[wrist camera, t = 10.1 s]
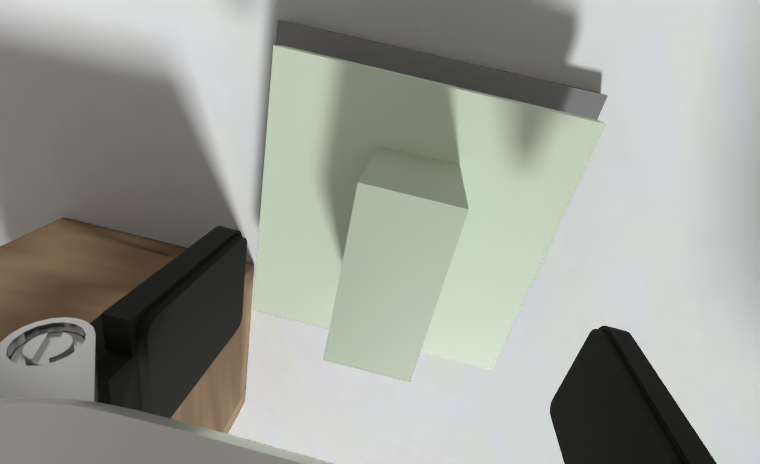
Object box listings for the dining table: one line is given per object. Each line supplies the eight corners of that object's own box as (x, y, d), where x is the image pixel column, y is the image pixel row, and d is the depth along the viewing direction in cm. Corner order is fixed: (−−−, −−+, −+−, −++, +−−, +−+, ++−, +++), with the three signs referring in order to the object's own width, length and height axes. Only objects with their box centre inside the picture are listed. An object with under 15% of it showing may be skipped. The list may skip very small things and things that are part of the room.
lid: (580, 112, 14) (677, 157, 8) (485, 335, 19) (506, 459, 13) (296, 45, 14) (206, 44, 9) (272, 281, 19) (203, 380, 13)
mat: (601, 93, 14) (607, 95, 14) (493, 340, 20) (495, 349, 19) (284, 21, 15) (278, 20, 14) (262, 283, 20) (257, 290, 19)
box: (253, 264, 20) (148, 391, 12) (244, 402, 24) (162, 554, 17) (63, 217, 20) (-149, 315, 13) (88, 362, 24) (-58, 494, 17)
